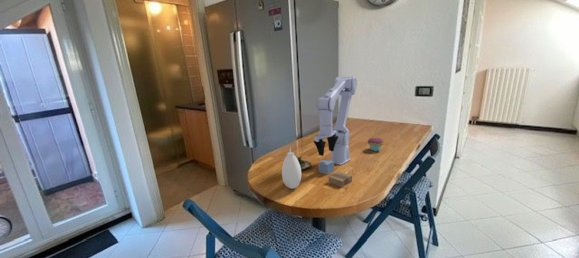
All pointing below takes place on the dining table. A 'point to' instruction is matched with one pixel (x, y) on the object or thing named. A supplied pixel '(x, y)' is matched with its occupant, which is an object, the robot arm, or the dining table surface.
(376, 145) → the cupcake
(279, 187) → the dining table surface
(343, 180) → the walnut block
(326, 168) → the blue cube
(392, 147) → the dining table surface
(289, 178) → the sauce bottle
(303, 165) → the salad bowl
